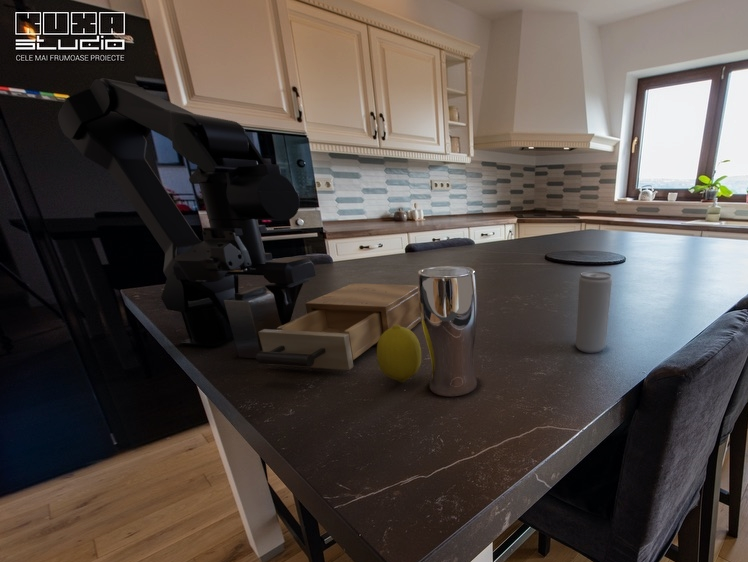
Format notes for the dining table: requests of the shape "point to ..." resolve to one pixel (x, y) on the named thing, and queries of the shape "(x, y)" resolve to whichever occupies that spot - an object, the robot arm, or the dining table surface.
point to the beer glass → (449, 326)
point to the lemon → (399, 353)
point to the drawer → (321, 339)
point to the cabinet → (375, 302)
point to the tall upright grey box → (251, 318)
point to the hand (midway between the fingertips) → (258, 324)
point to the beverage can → (593, 311)
